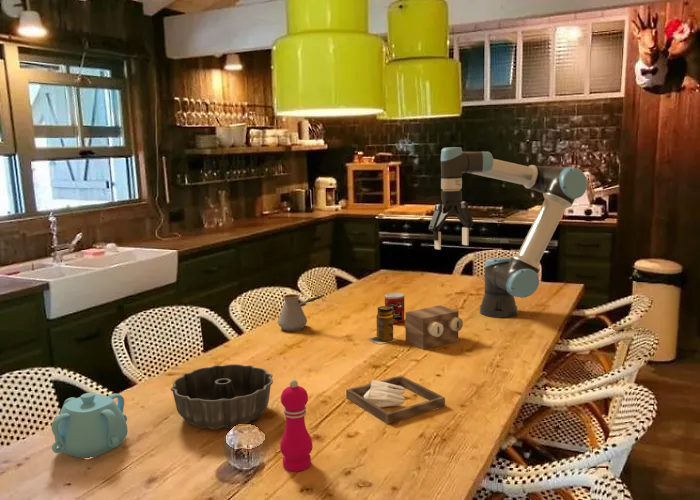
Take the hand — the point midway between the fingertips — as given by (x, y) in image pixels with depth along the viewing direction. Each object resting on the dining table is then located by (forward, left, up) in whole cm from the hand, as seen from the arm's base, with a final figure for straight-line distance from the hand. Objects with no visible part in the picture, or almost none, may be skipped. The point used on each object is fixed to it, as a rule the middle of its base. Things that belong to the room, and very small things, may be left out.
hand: (451, 247), depth 233 cm
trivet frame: (+58, +43, -32) cm, 78 cm away
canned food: (+12, -20, -32) cm, 39 cm away
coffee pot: (+47, -32, -32) cm, 65 cm away
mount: (+16, +9, -31) cm, 36 cm away
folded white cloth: (+59, +41, -32) cm, 79 cm away
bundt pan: (+100, +24, -32) cm, 108 cm away
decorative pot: (+133, +23, -32) cm, 138 cm away
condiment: (+29, -4, -32) cm, 43 cm away
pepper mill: (+96, +58, -32) cm, 116 cm away
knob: (+20, +9, -27) cm, 35 cm away
